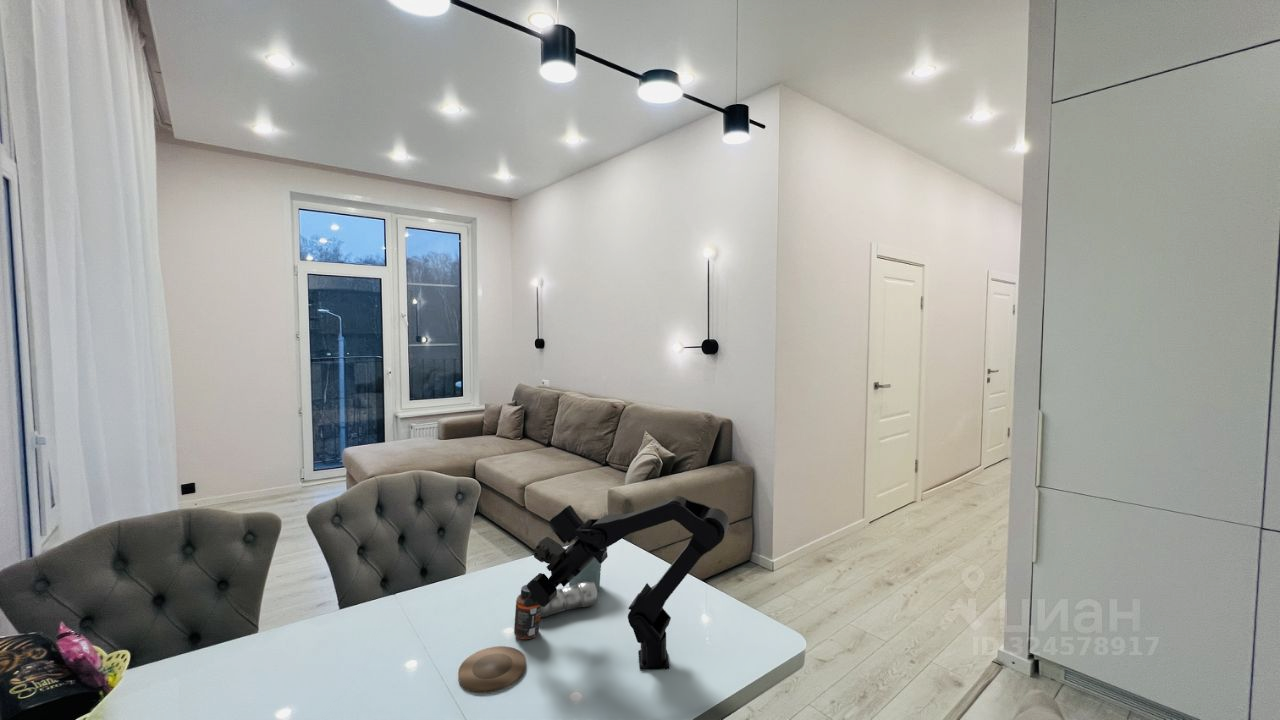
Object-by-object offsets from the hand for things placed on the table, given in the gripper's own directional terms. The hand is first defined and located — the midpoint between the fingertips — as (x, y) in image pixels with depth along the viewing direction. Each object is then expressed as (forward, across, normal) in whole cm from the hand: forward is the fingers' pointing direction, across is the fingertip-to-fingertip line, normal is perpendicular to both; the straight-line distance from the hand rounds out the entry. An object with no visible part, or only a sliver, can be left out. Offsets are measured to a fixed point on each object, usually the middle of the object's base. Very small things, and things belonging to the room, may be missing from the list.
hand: (535, 595), depth 123 cm
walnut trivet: (+9, +14, +5) cm, 17 cm away
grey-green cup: (+7, -25, +8) cm, 27 cm away
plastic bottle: (0, -19, +10) cm, 22 cm away
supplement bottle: (+9, 0, +5) cm, 10 cm away
